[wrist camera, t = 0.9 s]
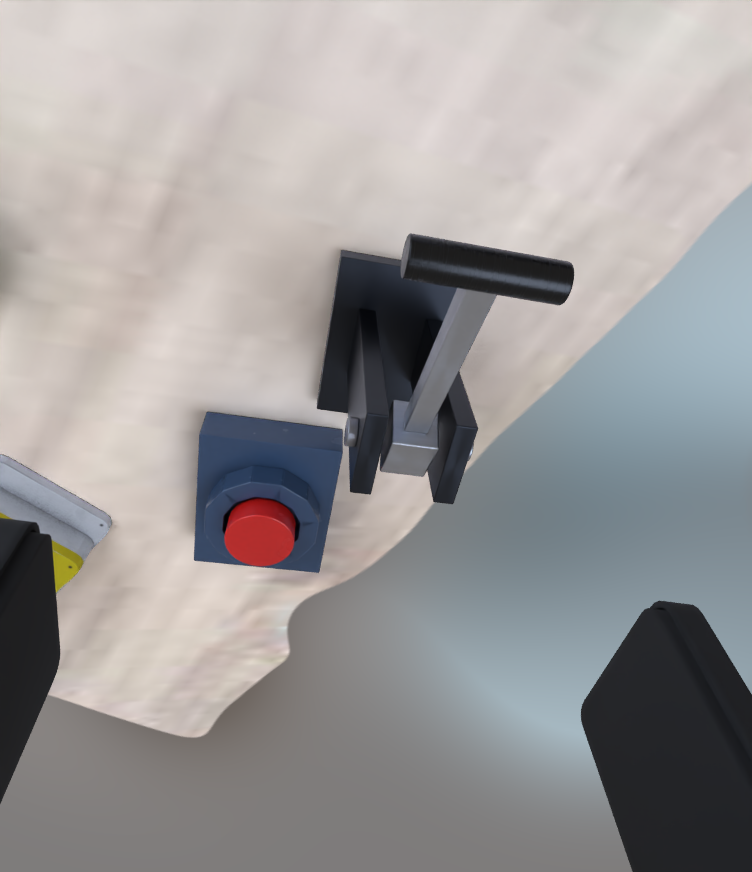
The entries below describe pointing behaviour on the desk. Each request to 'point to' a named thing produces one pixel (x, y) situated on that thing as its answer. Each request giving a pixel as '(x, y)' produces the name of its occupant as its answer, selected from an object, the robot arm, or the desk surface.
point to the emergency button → (52, 516)
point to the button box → (266, 482)
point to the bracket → (389, 367)
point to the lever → (459, 330)
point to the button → (260, 532)
